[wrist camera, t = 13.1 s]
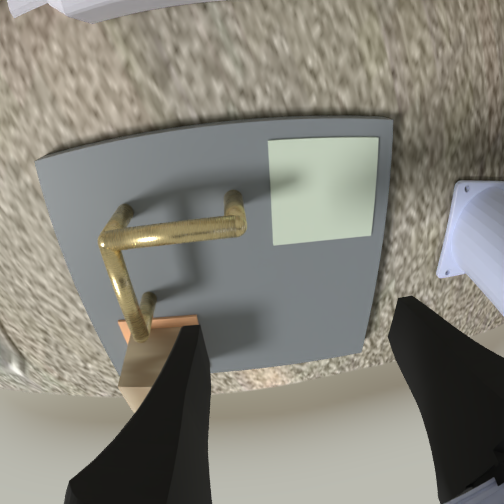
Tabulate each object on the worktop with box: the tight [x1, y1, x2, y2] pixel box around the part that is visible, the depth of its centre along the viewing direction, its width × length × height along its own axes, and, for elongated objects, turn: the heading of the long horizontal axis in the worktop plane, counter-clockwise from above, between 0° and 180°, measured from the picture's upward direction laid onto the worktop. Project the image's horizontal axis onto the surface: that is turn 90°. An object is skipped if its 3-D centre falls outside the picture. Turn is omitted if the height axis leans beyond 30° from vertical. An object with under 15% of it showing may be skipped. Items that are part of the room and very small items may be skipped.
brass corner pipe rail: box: [98, 190, 247, 343], centre depth 17 cm, size 7×7×4 cm
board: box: [34, 116, 393, 376], centre depth 20 cm, size 20×18×1 cm
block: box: [118, 327, 181, 413], centre depth 20 cm, size 4×4×5 cm
